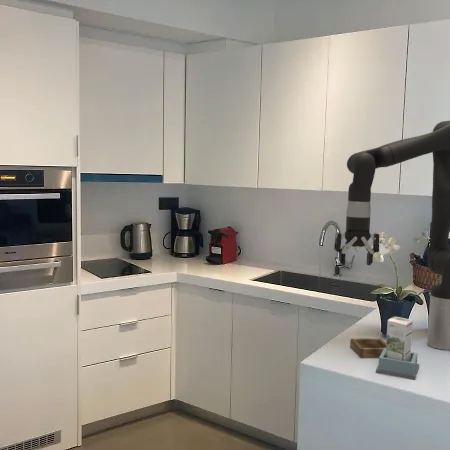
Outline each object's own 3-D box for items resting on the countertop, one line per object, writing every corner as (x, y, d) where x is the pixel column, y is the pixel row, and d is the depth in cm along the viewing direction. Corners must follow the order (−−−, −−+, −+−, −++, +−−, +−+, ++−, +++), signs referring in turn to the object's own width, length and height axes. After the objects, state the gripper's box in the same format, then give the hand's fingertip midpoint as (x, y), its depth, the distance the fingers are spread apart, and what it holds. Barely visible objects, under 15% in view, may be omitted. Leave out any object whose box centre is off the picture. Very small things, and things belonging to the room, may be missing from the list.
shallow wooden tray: (379, 347, 184) (380, 338, 184) (391, 357, 174) (392, 348, 174) (350, 347, 183) (350, 338, 183) (360, 358, 173) (360, 349, 173)
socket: (381, 360, 172) (382, 346, 171) (419, 367, 167) (420, 352, 166) (375, 372, 162) (376, 358, 161) (415, 379, 157) (416, 364, 157)
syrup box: (410, 366, 165) (413, 319, 163) (402, 372, 160) (406, 323, 158) (392, 361, 168) (394, 315, 166) (384, 367, 164) (386, 319, 162)
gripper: (340, 216, 173) (337, 267, 175) (384, 216, 174) (381, 267, 176) (333, 213, 180) (331, 262, 182) (375, 214, 182) (373, 262, 183)
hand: (355, 264), depth 179 cm, fingers open, 8 cm apart
